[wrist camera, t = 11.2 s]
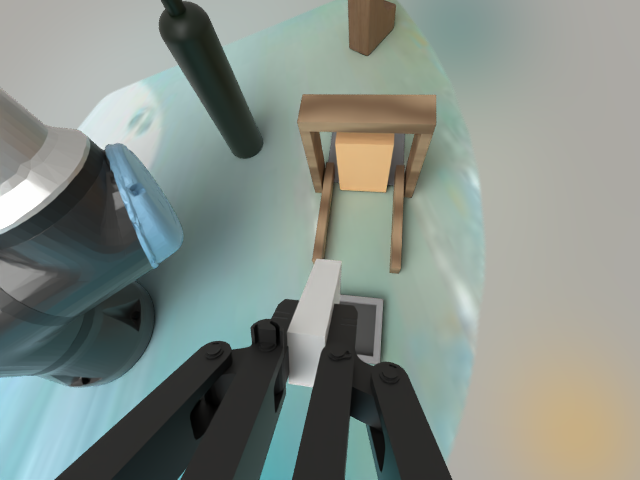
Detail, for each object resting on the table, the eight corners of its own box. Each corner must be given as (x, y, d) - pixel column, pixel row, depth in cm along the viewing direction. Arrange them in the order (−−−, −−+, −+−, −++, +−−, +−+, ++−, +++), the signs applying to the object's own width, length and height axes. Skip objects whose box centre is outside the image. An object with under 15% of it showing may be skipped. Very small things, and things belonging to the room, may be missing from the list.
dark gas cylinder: (269, 143, 52) (169, -96, 25) (244, 164, 51) (110, -62, 24) (249, 126, 54) (137, -114, 27) (225, 146, 53) (81, -83, 26)
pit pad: (379, 364, 38) (379, 364, 37) (316, 355, 39) (315, 355, 38) (382, 300, 41) (383, 299, 39) (324, 294, 42) (323, 292, 41)
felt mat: (402, 185, 46) (402, 184, 46) (325, 182, 48) (325, 180, 48) (404, 128, 50) (404, 127, 50) (333, 127, 52) (333, 126, 52)
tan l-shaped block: (385, 192, 46) (393, 145, 36) (340, 189, 47) (335, 143, 37) (389, 129, 50) (397, 70, 40) (347, 128, 51) (345, 71, 41)
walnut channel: (409, 274, 41) (436, 230, 27) (304, 264, 44) (278, 219, 29) (412, 175, 47) (435, 94, 33) (318, 171, 49) (302, 94, 35)
